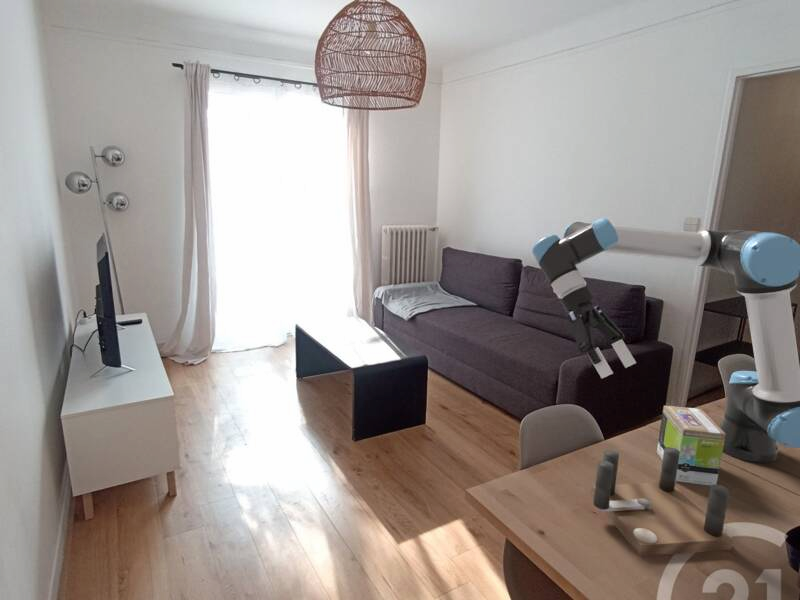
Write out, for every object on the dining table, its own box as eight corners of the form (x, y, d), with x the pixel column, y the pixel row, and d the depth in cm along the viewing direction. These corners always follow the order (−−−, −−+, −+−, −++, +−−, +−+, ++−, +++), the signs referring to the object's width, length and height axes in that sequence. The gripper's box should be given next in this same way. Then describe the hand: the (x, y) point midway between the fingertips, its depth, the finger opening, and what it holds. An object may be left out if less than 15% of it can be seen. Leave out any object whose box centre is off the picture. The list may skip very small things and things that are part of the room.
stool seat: (668, 490, 116) (674, 444, 114) (731, 549, 97) (741, 495, 94) (590, 495, 114) (595, 448, 112) (639, 556, 95) (646, 501, 92)
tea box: (718, 487, 118) (727, 433, 115) (674, 482, 120) (682, 429, 117) (694, 455, 132) (701, 407, 129) (655, 452, 134) (662, 403, 131)
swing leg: (644, 501, 108) (650, 458, 105) (652, 510, 105) (659, 466, 102) (590, 504, 106) (595, 460, 104) (597, 513, 103) (602, 469, 101)
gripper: (583, 296, 128) (626, 367, 121) (535, 304, 111) (582, 387, 104) (607, 282, 123) (653, 355, 116) (560, 287, 106) (611, 374, 99)
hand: (619, 370), depth 110 cm, fingers open, 13 cm apart
